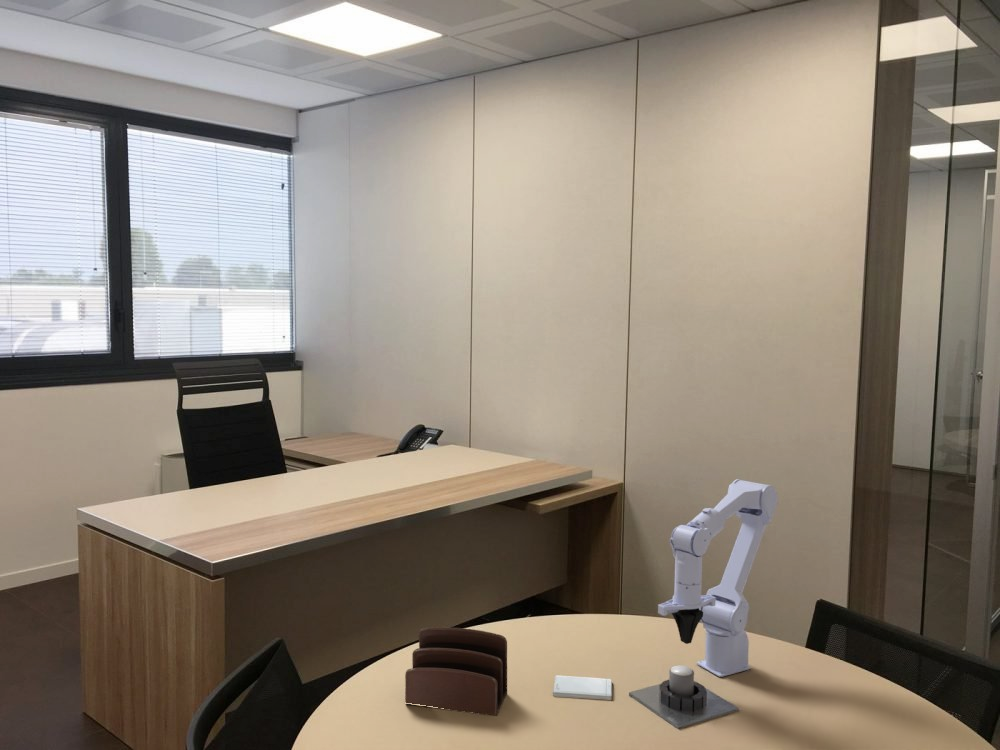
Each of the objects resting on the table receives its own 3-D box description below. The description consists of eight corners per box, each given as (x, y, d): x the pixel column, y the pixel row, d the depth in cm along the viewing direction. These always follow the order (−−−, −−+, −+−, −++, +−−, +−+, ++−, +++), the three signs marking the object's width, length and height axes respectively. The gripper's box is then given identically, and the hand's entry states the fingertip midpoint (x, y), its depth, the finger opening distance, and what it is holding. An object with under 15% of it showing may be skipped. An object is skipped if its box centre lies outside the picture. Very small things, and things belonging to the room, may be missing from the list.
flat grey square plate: (686, 679, 185) (687, 666, 185) (738, 710, 171) (739, 696, 171) (628, 695, 177) (629, 681, 177) (677, 728, 163) (678, 714, 163)
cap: (683, 691, 178) (683, 662, 177) (698, 701, 173) (698, 672, 173) (664, 696, 176) (664, 668, 175) (679, 706, 171) (679, 677, 170)
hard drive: (552, 691, 177) (611, 695, 175) (555, 674, 185) (611, 677, 183) (552, 698, 177) (611, 702, 175) (555, 681, 185) (611, 684, 183)
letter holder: (420, 684, 182) (419, 622, 181) (508, 694, 178) (508, 631, 177) (404, 706, 173) (404, 640, 171) (497, 717, 168) (497, 650, 167)
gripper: (701, 571, 187) (699, 629, 188) (649, 580, 180) (648, 640, 181) (723, 580, 181) (720, 641, 182) (670, 590, 174) (668, 652, 175)
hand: (685, 641), depth 181 cm, fingers closed
